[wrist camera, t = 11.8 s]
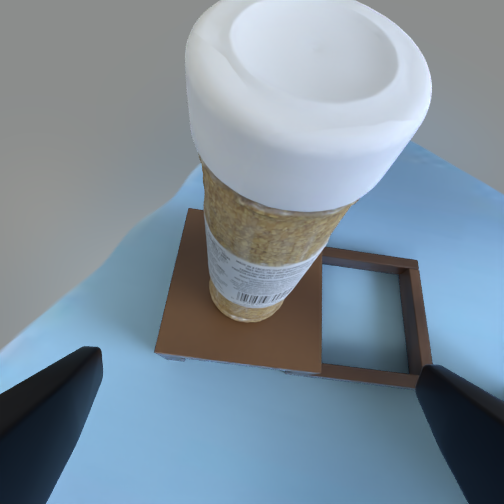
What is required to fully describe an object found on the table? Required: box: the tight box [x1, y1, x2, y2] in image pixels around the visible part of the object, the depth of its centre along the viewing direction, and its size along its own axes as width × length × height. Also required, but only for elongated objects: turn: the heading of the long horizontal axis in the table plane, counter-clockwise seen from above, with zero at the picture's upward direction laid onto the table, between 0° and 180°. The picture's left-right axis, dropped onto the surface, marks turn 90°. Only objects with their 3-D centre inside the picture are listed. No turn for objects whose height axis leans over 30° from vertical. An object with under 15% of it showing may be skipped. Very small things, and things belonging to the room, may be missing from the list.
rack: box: [154, 208, 433, 390], centre depth 19 cm, size 9×17×4 cm, turn 84°
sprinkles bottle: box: [185, 0, 432, 323], centre depth 11 cm, size 5×5×14 cm
